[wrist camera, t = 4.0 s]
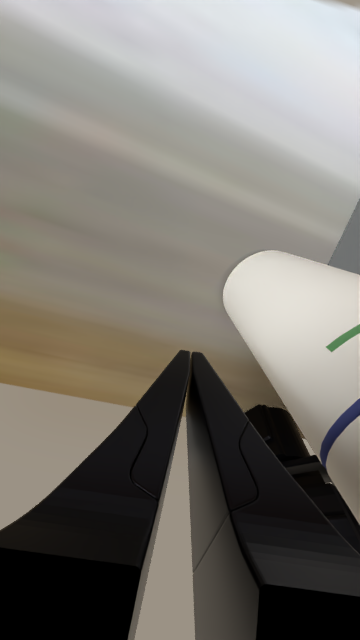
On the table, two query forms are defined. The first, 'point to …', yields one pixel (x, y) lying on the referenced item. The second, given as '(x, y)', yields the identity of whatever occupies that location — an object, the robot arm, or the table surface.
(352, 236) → the mat
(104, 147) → the table surface
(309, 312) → the cylindrical container
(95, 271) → the table surface
